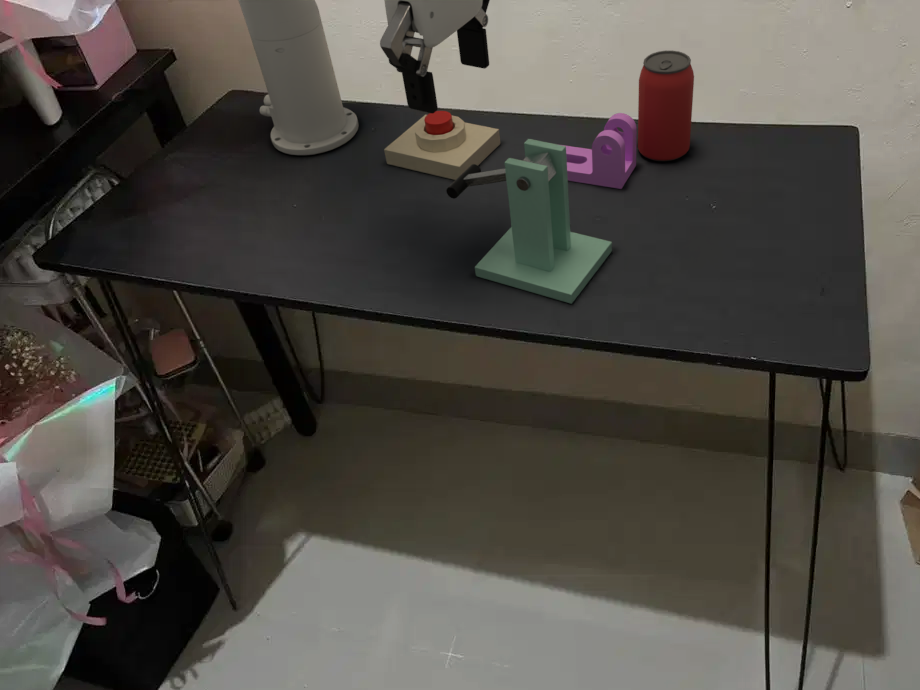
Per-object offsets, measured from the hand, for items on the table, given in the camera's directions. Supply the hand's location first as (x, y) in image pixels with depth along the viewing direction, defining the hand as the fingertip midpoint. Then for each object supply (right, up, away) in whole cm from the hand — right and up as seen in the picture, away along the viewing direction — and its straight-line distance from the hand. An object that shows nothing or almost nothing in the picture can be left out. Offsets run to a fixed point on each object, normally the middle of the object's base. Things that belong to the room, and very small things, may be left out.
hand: (450, 86), depth 84 cm
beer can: (+26, 0, +24) cm, 35 cm away
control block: (-3, +1, +29) cm, 29 cm away
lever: (+6, -9, +5) cm, 11 cm away
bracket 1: (+10, -17, +9) cm, 22 cm away
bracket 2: (+15, -3, +23) cm, 28 cm away
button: (-3, +3, +26) cm, 27 cm away
